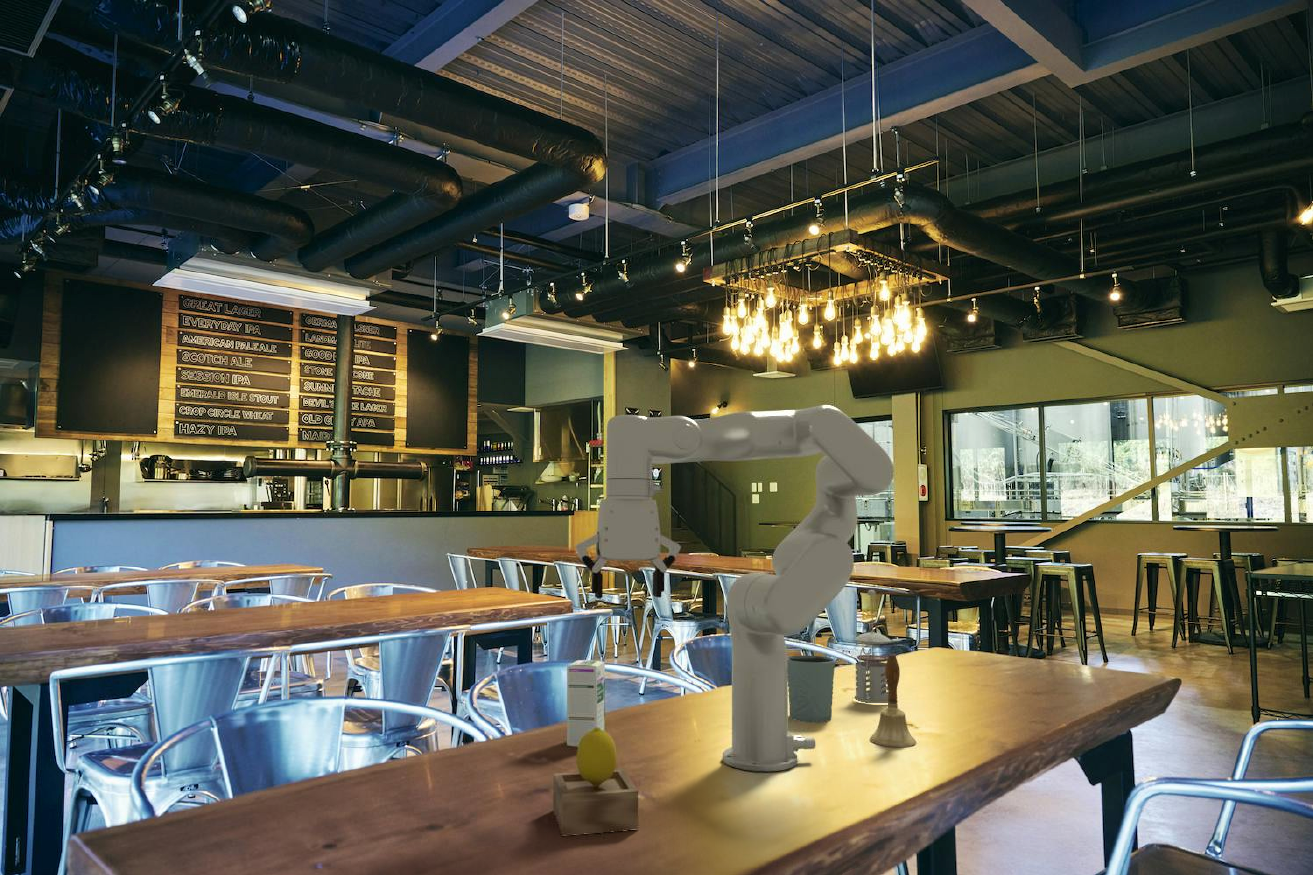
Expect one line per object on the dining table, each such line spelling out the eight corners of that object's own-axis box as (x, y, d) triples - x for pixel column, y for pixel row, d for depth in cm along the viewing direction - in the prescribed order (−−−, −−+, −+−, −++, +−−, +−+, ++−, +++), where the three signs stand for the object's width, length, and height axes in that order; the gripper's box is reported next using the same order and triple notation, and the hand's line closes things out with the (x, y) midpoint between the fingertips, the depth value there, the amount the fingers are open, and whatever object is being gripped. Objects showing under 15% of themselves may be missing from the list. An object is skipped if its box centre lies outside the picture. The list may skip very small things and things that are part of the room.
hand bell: (924, 741, 155) (922, 654, 157) (903, 750, 149) (901, 659, 151) (883, 733, 161) (881, 649, 163) (861, 741, 155) (860, 654, 157)
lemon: (576, 781, 117) (576, 722, 118) (615, 780, 117) (616, 722, 118) (576, 794, 111) (577, 732, 112) (617, 793, 112) (618, 732, 113)
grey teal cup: (781, 720, 171) (780, 660, 172) (792, 709, 180) (791, 653, 182) (830, 725, 167) (830, 663, 168) (839, 714, 177) (838, 656, 178)
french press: (901, 699, 191) (899, 589, 194) (886, 709, 182) (883, 592, 184) (859, 694, 197) (858, 587, 199) (842, 703, 187) (840, 590, 189)
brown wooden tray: (622, 804, 120) (623, 768, 120) (638, 830, 110) (638, 790, 110) (553, 810, 117) (553, 773, 118) (562, 836, 108) (563, 796, 108)
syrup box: (596, 748, 149) (598, 665, 151) (565, 746, 150) (566, 664, 152) (605, 740, 155) (606, 660, 156) (574, 738, 156) (575, 658, 157)
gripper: (674, 492, 142) (673, 594, 140) (573, 491, 138) (571, 595, 136) (686, 491, 135) (685, 598, 133) (580, 489, 131) (578, 600, 129)
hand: (628, 597), depth 135 cm, fingers open, 9 cm apart
